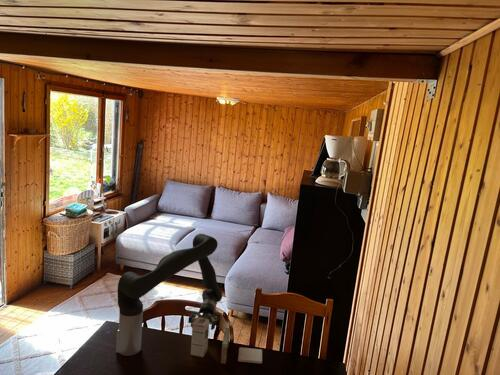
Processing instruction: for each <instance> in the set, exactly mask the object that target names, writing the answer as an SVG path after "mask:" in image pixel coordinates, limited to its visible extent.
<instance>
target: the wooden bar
mask: <svg viewBox="0 0 500 375" xmlns="http://www.w3.org/2000/svg"><path fill="white" fill-rule="evenodd" d="M224 328H225V329H224V333H223V337H222V338H223V339H222V344H221V345H222V346H221V348H222V347H226V348H227V344H228V338H229V339H230V333H229V332H231V331H230V330H231V328H230V327H224ZM228 345H229V344H228ZM227 349H228V348H227Z"/></svg>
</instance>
